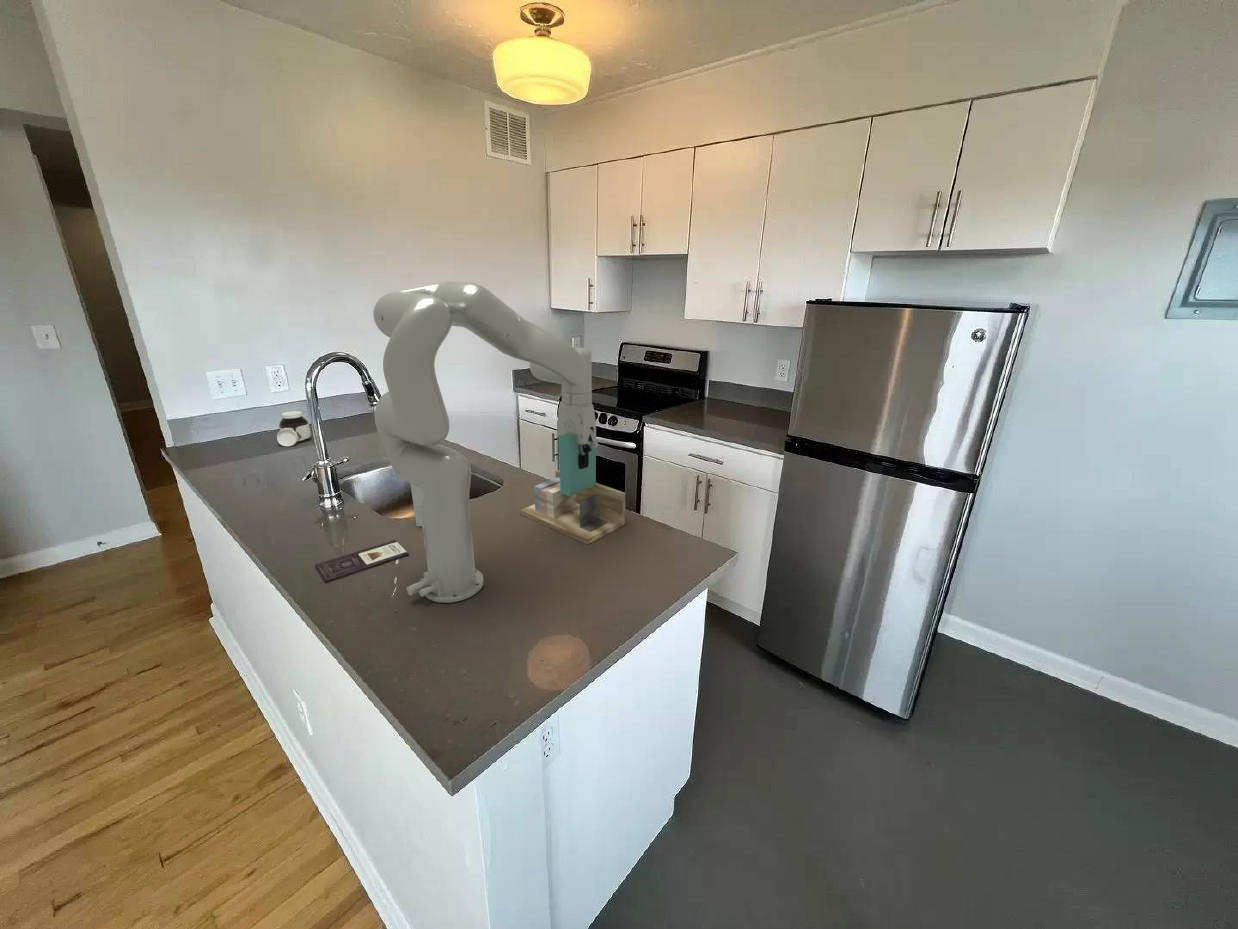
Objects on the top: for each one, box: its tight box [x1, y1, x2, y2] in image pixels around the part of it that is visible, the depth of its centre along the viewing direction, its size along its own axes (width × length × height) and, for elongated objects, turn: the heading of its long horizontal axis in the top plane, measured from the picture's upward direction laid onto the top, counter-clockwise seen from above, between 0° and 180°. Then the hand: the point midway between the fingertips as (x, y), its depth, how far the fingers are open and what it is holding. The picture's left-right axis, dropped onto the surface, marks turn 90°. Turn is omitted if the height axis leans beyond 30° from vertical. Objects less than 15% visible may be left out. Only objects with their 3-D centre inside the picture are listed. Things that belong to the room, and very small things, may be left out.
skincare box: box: [409, 483, 424, 527], centre depth 135 cm, size 8×6×15 cm
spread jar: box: [276, 410, 312, 447], centre depth 198 cm, size 12×11×12 cm
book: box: [558, 433, 597, 496], centre depth 132 cm, size 10×4×16 cm, turn 140°
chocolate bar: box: [314, 539, 410, 584], centre depth 117 cm, size 9×1×18 cm
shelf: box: [519, 469, 626, 546], centre depth 138 cm, size 15×26×10 cm, turn 50°
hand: (577, 465), depth 133 cm, fingers closed on book, 3 cm apart
